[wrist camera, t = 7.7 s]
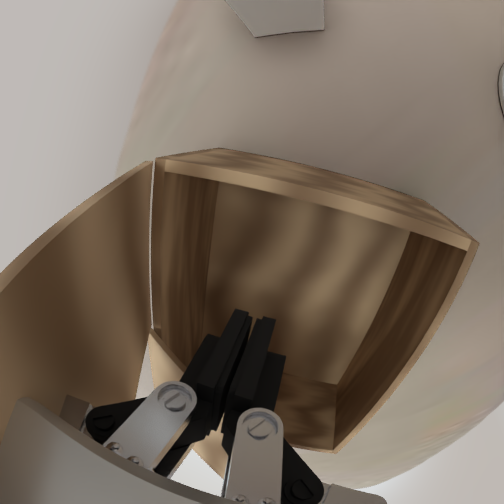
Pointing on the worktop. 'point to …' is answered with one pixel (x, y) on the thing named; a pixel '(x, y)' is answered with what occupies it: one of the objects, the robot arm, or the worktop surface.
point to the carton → (303, 278)
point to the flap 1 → (80, 303)
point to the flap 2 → (172, 370)
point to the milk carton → (279, 15)
